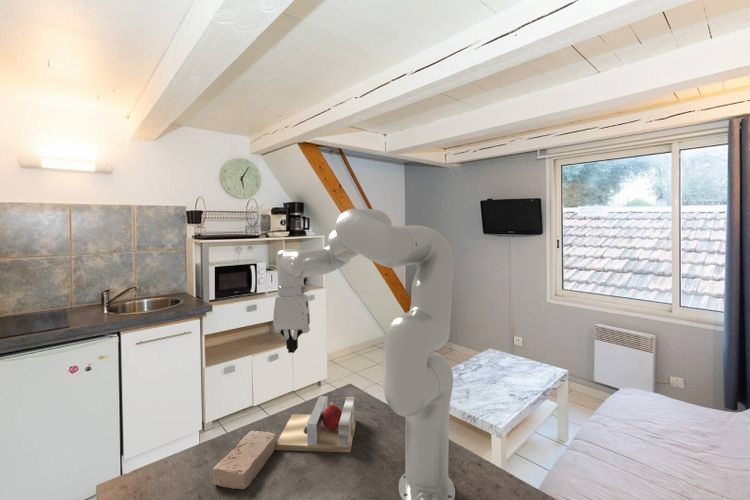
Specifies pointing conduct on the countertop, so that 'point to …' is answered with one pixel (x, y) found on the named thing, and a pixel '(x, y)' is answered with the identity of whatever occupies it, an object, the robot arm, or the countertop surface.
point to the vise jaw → (316, 421)
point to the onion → (331, 417)
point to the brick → (245, 460)
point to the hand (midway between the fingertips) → (292, 351)
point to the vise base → (328, 439)
